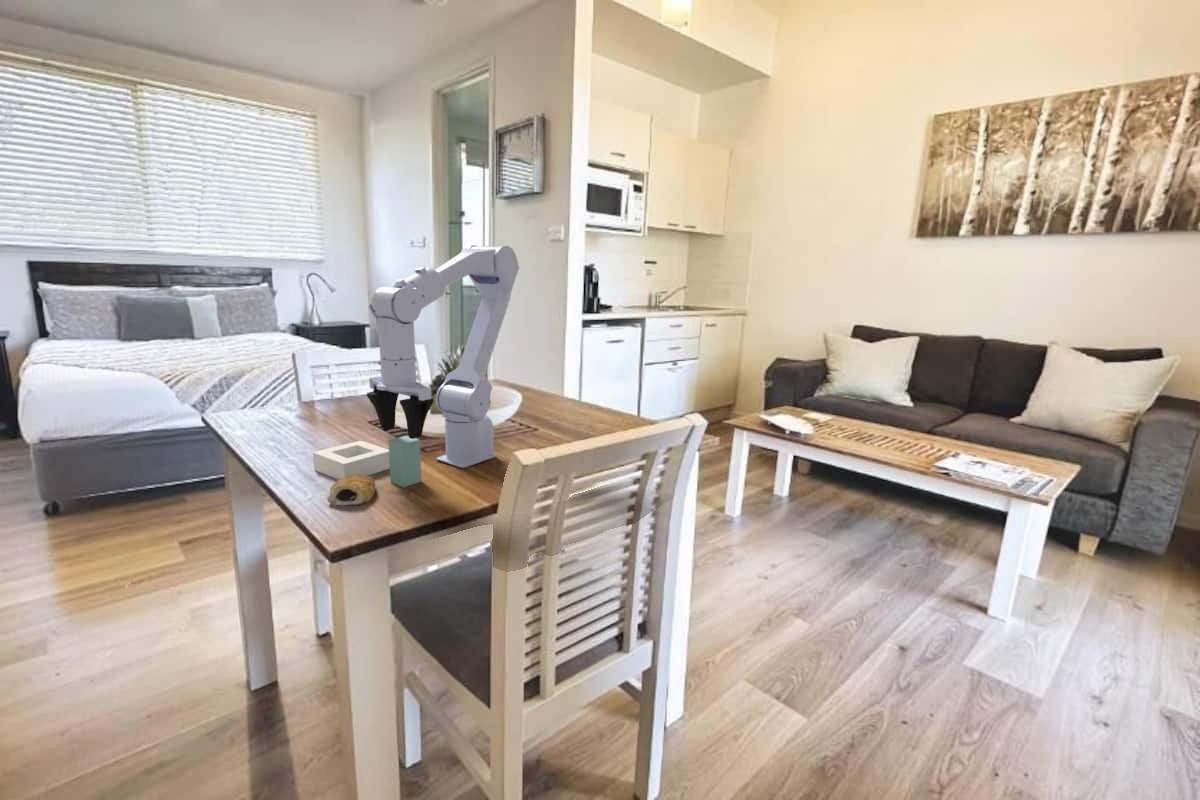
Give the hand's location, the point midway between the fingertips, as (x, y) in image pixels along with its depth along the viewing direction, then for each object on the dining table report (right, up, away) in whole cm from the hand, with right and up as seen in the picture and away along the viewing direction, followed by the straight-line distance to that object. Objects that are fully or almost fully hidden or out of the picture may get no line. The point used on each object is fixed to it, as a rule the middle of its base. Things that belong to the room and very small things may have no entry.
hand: (401, 433), depth 101 cm
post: (0, -9, +2) cm, 9 cm away
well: (-12, -7, +8) cm, 16 cm away
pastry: (-6, -11, -5) cm, 14 cm away
